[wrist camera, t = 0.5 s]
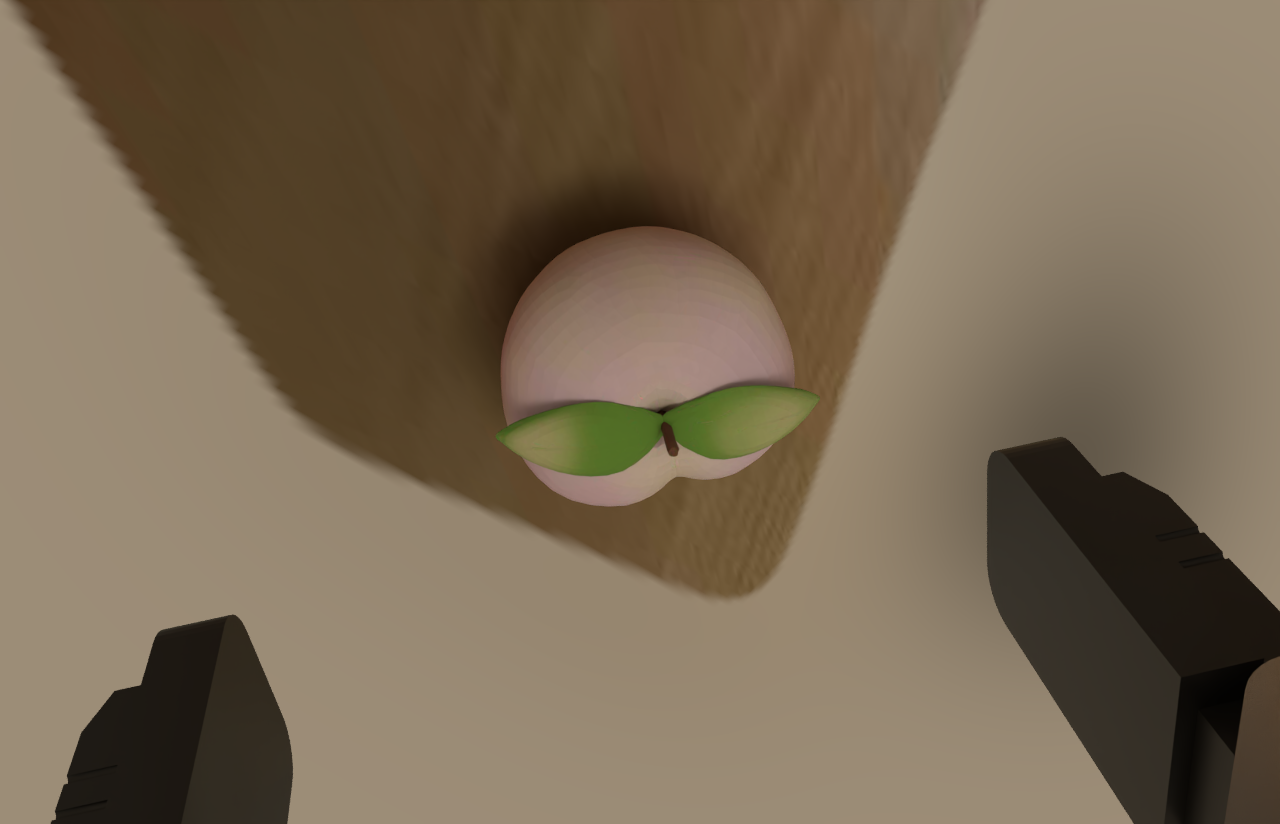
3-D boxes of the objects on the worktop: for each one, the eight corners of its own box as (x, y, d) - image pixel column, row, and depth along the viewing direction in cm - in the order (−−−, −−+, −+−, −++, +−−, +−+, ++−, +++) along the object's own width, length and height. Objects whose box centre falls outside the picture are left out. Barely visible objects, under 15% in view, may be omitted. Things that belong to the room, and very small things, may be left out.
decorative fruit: (725, 148, 39) (814, 259, 31) (768, 362, 43) (857, 514, 35) (447, 226, 39) (458, 360, 30) (517, 435, 43) (544, 606, 34)
